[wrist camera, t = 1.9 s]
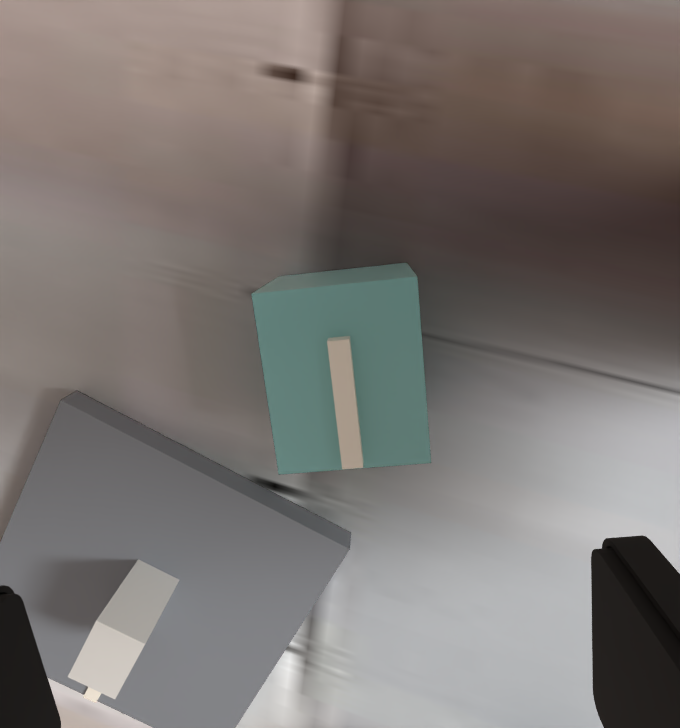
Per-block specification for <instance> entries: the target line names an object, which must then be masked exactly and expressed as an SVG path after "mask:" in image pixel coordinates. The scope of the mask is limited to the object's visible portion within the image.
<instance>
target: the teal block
mask: <svg viewBox="0 0 680 728" xmlns="http://www.w3.org/2000/svg"><path fill="white" fill-rule="evenodd" d="M251 295H252V301H253V308H254V315H255V321H256V328H257V334H258V341H259V348H260V354H261V361H262V367H263V374H264V381H265V387H266V394H267V400H268V407H269V414H270V420H271V427H272V434H273V440H274V447H275V453H276V460H277V467H278V473H279V475H280V474H293V473H306V472H319V471H332V470H346V469H359V468H372V467H385V466H398V465H411V464H425V463H431V454H430V440H429V427H428V413H427V400H426V387H425V373H424V360H423V346H422V333H421V319H420V306H419V292H418V279H417V275H416V274H415V273H414V271H413V270H412V269H411V267H410V266H409V265H408V263H398V264H389V265H379V266H370V267H361V268H351V269H342V270H332V271H323V272H314V273H304V274H295V275H286V276H279V277H277V278H276V279H274V280H273V281H271V282H269V283H268V284H266V285H265V286H263V287H261V288H260V289H258V290H257V291H255V292H254V293H252V294H251Z"/></svg>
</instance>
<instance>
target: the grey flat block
mask: <svg viewBox="0 0 680 728" xmlns="http://www.w3.org/2000/svg"><path fill="white" fill-rule="evenodd" d="M350 538H351V533H350V532H348V531H346V530H344V529H343V528H341V527H339V526H337V525H335V524H333V523H331V522H329V521H327V520H325V519H323V518H321V517H319V516H318V515H316V514H314V513H312V512H310V511H308V510H306V509H304V508H302V507H300V506H298V505H296V504H294V503H292V502H291V501H289V500H287V499H285V498H283V497H281V496H279V495H277V494H275V493H273V492H271V491H269V490H267V489H265V488H264V487H262V486H260V485H258V484H256V483H254V482H252V481H250V480H248V479H246V478H244V477H242V476H240V475H238V474H237V473H235V472H233V471H231V470H229V469H227V468H225V467H223V466H221V465H219V464H217V463H215V462H213V461H211V460H210V459H208V458H206V457H204V456H202V455H200V454H198V453H196V452H194V451H192V450H190V449H188V448H186V447H184V446H183V445H181V444H179V443H177V442H175V441H173V440H171V439H169V438H167V437H165V436H163V435H161V434H159V433H157V432H156V431H154V430H152V429H150V428H148V427H146V426H144V425H142V424H140V423H138V422H136V421H134V420H132V419H130V418H129V417H127V416H125V415H123V414H121V413H119V412H117V411H115V410H113V409H111V408H109V407H107V406H105V405H103V404H102V403H100V402H98V401H96V400H94V399H92V398H90V397H88V396H86V395H84V394H82V393H80V392H78V391H75V392H74V393H72V394H70V395H69V396H67V397H65V398H63V399H62V400H61V401H60V403H59V405H58V408H57V410H56V412H55V415H54V417H53V419H52V422H51V424H50V426H49V429H48V431H47V434H46V436H45V438H44V441H43V443H42V445H41V448H40V450H39V452H38V455H37V457H36V459H35V462H34V464H33V466H32V469H31V471H30V474H29V476H28V478H27V481H26V483H25V485H24V488H23V490H22V492H21V495H20V497H19V499H18V502H17V504H16V507H15V509H14V511H13V514H12V516H11V518H10V521H9V523H8V525H7V528H6V530H5V532H4V535H3V537H2V539H1V542H0V586H1V585H5V586H9V587H10V588H11V589H12V590H13V591H14V593H15V594H18V595H19V596H20V597H21V598H22V600H23V602H24V606H25V609H26V612H27V615H28V618H29V621H30V625H31V628H32V631H33V634H34V637H35V640H36V644H37V647H38V650H39V653H40V656H41V659H42V663H43V666H44V669H45V672H46V675H47V677H48V678H50V679H52V680H54V681H56V682H58V683H60V684H62V685H65V686H67V687H69V688H71V689H73V690H75V691H77V692H79V693H81V694H84V696H83V697H84V698H86V699H88V700H90V701H92V702H94V703H96V702H97V701H98V702H100V703H103V704H105V705H107V706H109V707H111V708H113V709H115V710H117V711H119V712H122V713H124V714H126V715H128V716H130V717H132V718H134V719H136V720H138V721H141V722H143V723H145V724H147V725H149V726H151V727H153V728H235V727H236V726H237V724H238V723H239V721H240V720H241V718H242V717H243V715H244V713H245V712H246V710H247V709H248V707H249V706H250V704H251V703H252V701H253V699H254V698H255V696H256V695H257V693H258V692H259V690H260V688H261V687H262V685H263V684H264V682H265V681H266V679H267V678H268V676H269V674H270V673H271V671H272V670H273V668H274V667H275V665H276V664H277V662H278V660H279V659H280V657H281V656H282V654H283V653H284V651H285V649H286V648H287V646H288V645H289V643H290V642H291V640H292V639H293V637H294V635H295V634H296V632H297V631H298V629H299V628H300V626H301V625H302V623H303V621H304V620H305V618H306V617H307V615H308V614H309V612H310V610H311V609H312V607H313V606H314V604H315V603H316V601H317V600H318V598H319V596H320V595H321V593H322V592H323V590H324V589H325V587H326V586H327V584H328V582H329V581H330V579H331V578H332V576H333V575H334V573H335V571H336V570H337V568H338V567H339V565H340V564H341V562H342V561H343V559H344V557H345V556H346V554H347V553H348V551H349V550H350Z"/></svg>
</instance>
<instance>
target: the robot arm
mask: <svg viewBox="0 0 680 728" xmlns="http://www.w3.org/2000/svg"><path fill="white" fill-rule="evenodd" d="M591 571H592V652H593V695H594V701H595V705H596V709H597V712H598V715H599V717H600V720H601V722H602V724H603V726H604V728H680V574H679V573H678V572H677V571H676V569H675V568H674V567H673V566H672V565H671V564H670V562H669V561H668V560H667V559H666V558H665V557H664V556H663V554H662V553H661V552H660V551H659V550H658V549H657V547H656V546H655V545H654V544H653V543H652V542H651V540H649V539H648V538H647V537H646V536H632V537H619V538H606V539H605V540H604V542H603V544H602V549H594V550H593V551H592V557H591ZM0 728H61V721H60V716H59V713H58V710H57V707H56V704H55V700H54V697H53V694H52V691H51V688H50V685H49V682H48V678H47V675H46V672H45V669H44V666H43V663H42V659H41V656H40V653H39V650H38V647H37V644H36V640H35V637H34V634H33V631H32V628H31V625H30V621H29V618H28V615H27V612H26V609H25V606H24V602H23V600H22V598H21V597H20V596H19V595H18V594H15V593H14V591H13V590H12V589H11V588H10V587H9V586H5V585H1V586H0Z"/></svg>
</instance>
